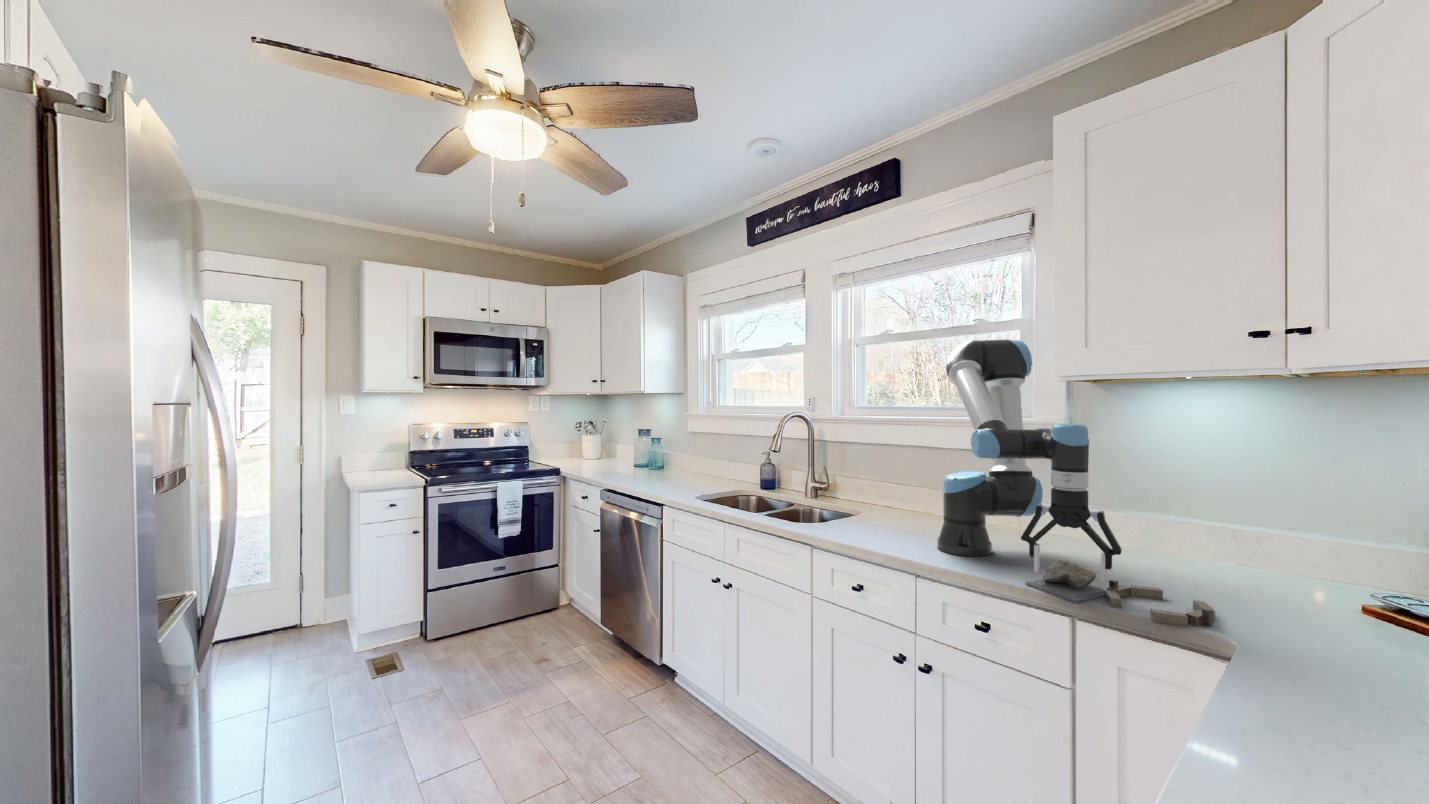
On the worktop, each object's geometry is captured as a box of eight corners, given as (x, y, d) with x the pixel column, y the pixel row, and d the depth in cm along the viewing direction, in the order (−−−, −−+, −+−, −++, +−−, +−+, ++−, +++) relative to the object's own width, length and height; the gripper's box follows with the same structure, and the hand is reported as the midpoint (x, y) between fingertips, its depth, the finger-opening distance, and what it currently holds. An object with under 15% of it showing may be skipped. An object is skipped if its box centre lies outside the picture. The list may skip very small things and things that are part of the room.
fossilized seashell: (1077, 571, 139) (1078, 548, 136) (1107, 600, 129) (1108, 576, 126) (1035, 579, 139) (1035, 556, 137) (1061, 608, 129) (1061, 584, 127)
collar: (1086, 598, 127) (1086, 584, 127) (1134, 588, 133) (1134, 575, 133) (1183, 632, 109) (1183, 616, 109) (1235, 620, 114) (1236, 605, 114)
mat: (1025, 584, 137) (1025, 581, 136) (1063, 578, 141) (1063, 575, 141) (1075, 603, 124) (1075, 600, 124) (1115, 595, 129) (1115, 592, 129)
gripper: (1008, 485, 137) (1008, 569, 138) (1133, 496, 121) (1133, 592, 122) (1014, 481, 143) (1014, 562, 144) (1135, 491, 127) (1135, 583, 128)
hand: (1069, 576), depth 133 cm, fingers open, 13 cm apart
